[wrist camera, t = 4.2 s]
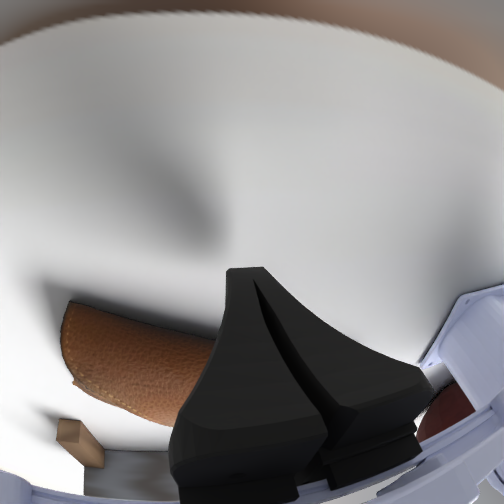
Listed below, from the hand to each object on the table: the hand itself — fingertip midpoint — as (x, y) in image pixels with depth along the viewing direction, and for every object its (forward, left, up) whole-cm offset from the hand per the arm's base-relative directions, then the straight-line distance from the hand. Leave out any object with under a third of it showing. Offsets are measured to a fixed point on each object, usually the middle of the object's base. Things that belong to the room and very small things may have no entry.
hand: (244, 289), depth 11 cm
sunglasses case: (+1, +8, -3) cm, 9 cm away
